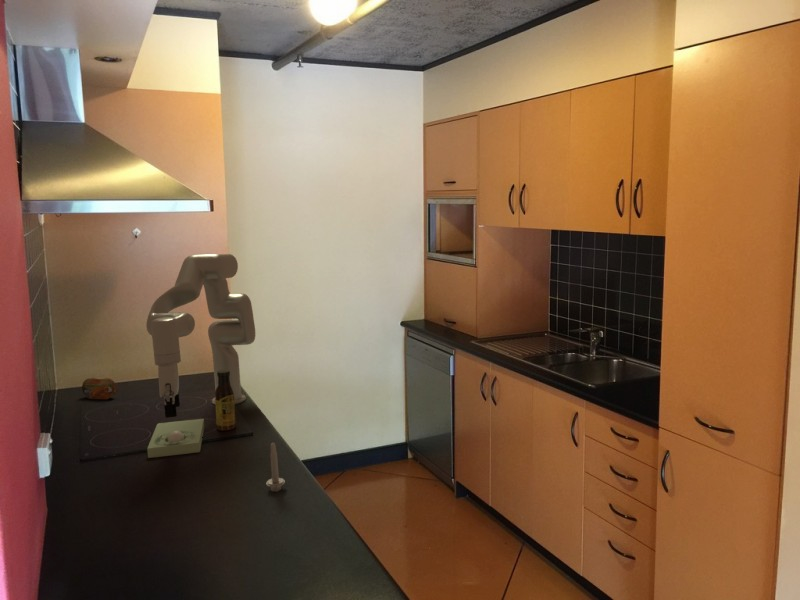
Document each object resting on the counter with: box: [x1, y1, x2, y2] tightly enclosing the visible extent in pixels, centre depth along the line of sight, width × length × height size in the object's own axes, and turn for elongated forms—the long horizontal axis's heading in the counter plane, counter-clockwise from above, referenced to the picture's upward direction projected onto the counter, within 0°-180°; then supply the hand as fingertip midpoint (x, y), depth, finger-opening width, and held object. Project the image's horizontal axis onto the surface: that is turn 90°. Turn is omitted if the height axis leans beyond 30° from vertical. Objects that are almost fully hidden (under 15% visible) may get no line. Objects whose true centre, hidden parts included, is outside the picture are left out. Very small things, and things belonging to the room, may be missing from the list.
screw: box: [265, 442, 286, 493], centre depth 170 cm, size 13×5×5 cm
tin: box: [81, 377, 117, 400], centre depth 263 cm, size 15×3×8 cm, turn 73°
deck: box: [146, 418, 206, 459], centre depth 210 cm, size 24×15×3 cm, turn 13°
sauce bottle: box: [214, 370, 236, 432], centre depth 220 cm, size 6×6×20 cm
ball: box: [168, 431, 184, 442], centre depth 205 cm, size 5×5×5 cm
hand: (172, 411), depth 202 cm, fingers open, 9 cm apart
